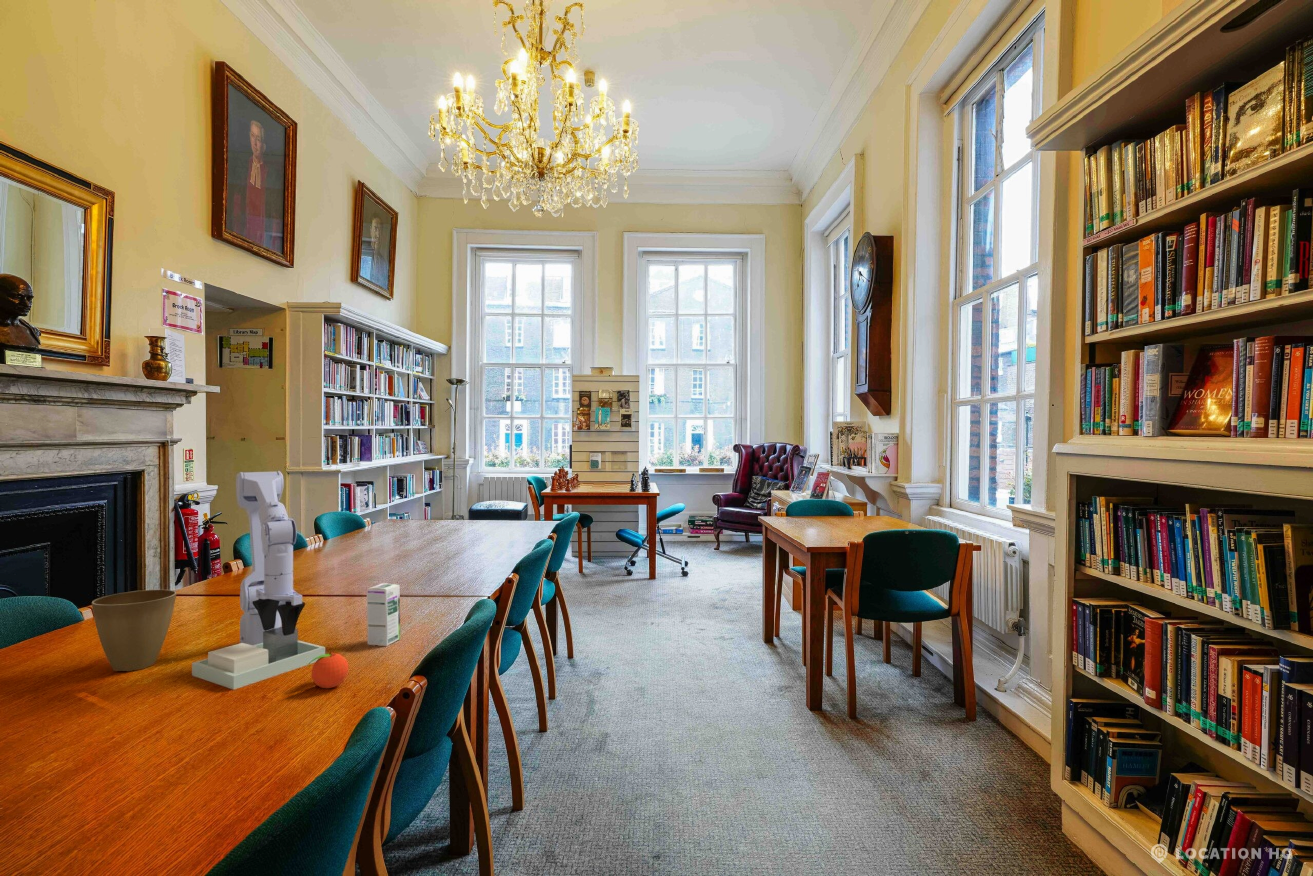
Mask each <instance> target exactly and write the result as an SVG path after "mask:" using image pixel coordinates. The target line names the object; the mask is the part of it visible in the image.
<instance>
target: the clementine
mask: <svg viewBox="0 0 1313 876" xmlns="http://www.w3.org/2000/svg"><path fill="white" fill-rule="evenodd" d="M318 658H319V659H318ZM316 659H318V660H317V661H316V662H315V663H313V666H312V668H311V672H310V673H311V678H312V680H313V683H314V684H315V685H317V686H318V687H320V688H321V689H332V688H334V687H338V686H339V685H341V683H343V682H344V680H345V679H346V678H347V676H348V674H349V663H348V661H347V659H346V657H344V656H343V655H341V654H340V653H336V652H335V653H334V652H331V653H325V655H321V656H318V657H316V658H315V659H313V660H312V661H314V660H316ZM312 661H311V662H312ZM311 662H310V663H311ZM310 663H309V664H308V665H306V667H308V666H309V665H311V664H310Z"/></svg>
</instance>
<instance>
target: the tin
mask: <svg viewBox="0 0 1313 876" xmlns="http://www.w3.org/2000/svg"><path fill="white" fill-rule="evenodd" d="M298 632H299V629H298V628H297V627H296V628H295V631H294V634H290V635H287V636H284V635H283V632H282V626H281V627H279V628H275V629H271V630H267V631H264V632H263V649H267V650H268V664H270V663H273V662H276V661H279V660H282V659H286V658H289V657H292V656H295V655H298V640H299V638H298V637H299V636H298V635H299V634H298Z"/></svg>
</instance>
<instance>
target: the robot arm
mask: <svg viewBox="0 0 1313 876" xmlns="http://www.w3.org/2000/svg"><path fill="white" fill-rule="evenodd" d="M284 488H285V487H284V475H283V473H282V472H281V471H280V470H276V471H253V472H249V471H248V472H245V471H244V472H243V471H239V472H238V473H237V474H236V479H235V490H236V501H237V505H238V507H239V508H241V509H244V510H245V511H246V514H247V516H248V517H247V518H248V526H249V537H250V539H249V541H250V542H249V543H250V555H251V556H250V557H251V567H252V568H251V569H252V572H251V573H250V574H248V575H246V577H244V579H242V581H241V583H240V587H239V589H240V591H239V605H240V609H241V611H243V614H242V615H241V616H240V619H239V643H245V644H249V645H252V646H253V645H256V644H260V643H263V632H264V631H267V630H271V629H275V628H279V627H282V632H283V635H284V636H287V635H290V634H294V631H295V628H296V629H297V624H298V620H299V617H300V616H301V613H302V611H303V609H304V608H305V606H306V602H305V601H303V595H302V594H300V593H298V592H297V591H296V590H294V545H295V544H296V542H297V536H298V535H297V534H298V533H297V532H298V531H297V530H298V529H297V524H296V522H295V521H296V520H294V519H293V518H292V517H290V518H289V515H288V512H287V509H286V507H285V504H284V503H282V502H280V501H281V499H282V495H283V492H284V491H283V490H284Z"/></svg>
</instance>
